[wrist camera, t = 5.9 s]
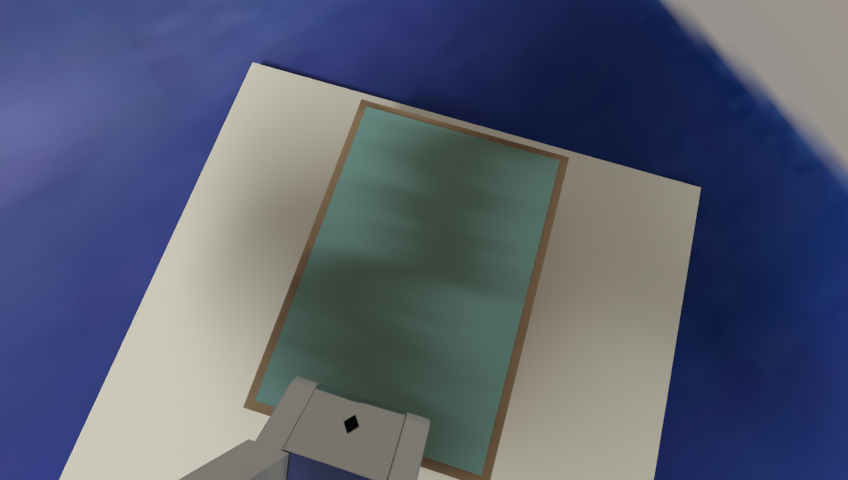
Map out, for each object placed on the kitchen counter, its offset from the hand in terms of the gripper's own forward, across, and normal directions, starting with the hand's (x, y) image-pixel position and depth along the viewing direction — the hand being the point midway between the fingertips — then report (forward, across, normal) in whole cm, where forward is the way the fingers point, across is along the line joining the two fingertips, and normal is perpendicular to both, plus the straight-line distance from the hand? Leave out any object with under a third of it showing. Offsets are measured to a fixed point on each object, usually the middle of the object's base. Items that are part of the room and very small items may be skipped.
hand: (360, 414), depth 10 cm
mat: (+5, 0, +3) cm, 6 cm away
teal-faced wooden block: (+2, 0, +4) cm, 4 cm away
